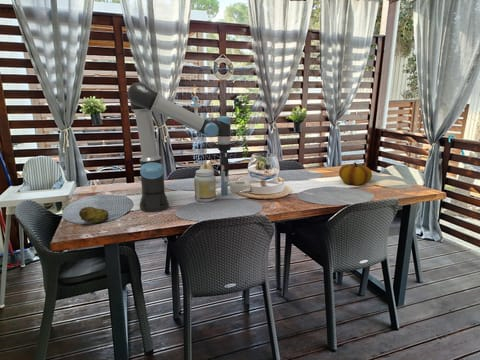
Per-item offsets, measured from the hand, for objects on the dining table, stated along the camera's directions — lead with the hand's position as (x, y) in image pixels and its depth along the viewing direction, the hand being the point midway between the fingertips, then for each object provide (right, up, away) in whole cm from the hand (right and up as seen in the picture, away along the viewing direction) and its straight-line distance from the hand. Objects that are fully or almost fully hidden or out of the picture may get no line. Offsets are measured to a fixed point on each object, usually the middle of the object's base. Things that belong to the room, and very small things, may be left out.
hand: (225, 178), depth 196 cm
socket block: (+9, -7, +13) cm, 17 cm away
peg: (0, -10, +3) cm, 10 cm away
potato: (-60, -21, -40) cm, 75 cm away
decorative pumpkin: (+88, -3, +30) cm, 93 cm away
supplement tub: (-11, -12, -6) cm, 18 cm away
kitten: (-14, -3, +27) cm, 30 cm away
